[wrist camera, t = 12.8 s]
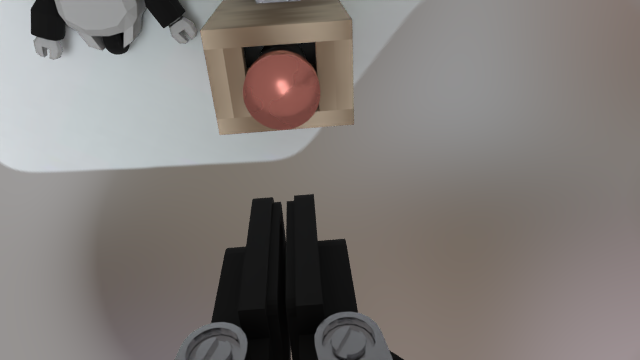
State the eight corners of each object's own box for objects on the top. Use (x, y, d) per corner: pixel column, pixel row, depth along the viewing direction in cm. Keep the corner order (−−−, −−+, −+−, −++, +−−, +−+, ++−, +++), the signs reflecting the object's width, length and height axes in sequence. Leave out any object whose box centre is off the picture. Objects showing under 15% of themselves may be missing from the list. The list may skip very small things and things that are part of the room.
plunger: (312, 27, 27) (318, 52, 22) (315, 90, 29) (322, 127, 24) (246, 31, 27) (237, 58, 22) (255, 94, 29) (248, 132, 24)
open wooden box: (333, -8, 32) (352, 19, 23) (336, 74, 35) (353, 124, 26) (223, 0, 32) (200, 30, 23) (235, 81, 35) (219, 135, 26)
